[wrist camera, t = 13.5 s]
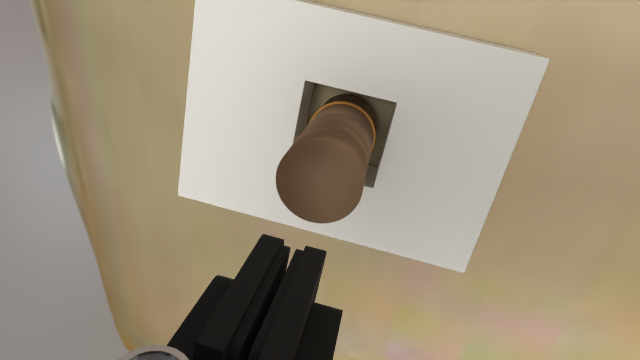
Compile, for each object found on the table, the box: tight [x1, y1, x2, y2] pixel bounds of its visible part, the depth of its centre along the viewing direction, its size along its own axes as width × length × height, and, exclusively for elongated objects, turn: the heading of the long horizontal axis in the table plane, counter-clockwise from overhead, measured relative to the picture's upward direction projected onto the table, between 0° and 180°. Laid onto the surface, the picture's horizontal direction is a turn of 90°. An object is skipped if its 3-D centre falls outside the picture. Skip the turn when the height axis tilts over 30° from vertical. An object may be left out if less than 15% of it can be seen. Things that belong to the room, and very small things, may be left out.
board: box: [178, 0, 550, 273], centre depth 29 cm, size 20×14×4 cm
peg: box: [276, 94, 377, 224], centre depth 26 cm, size 4×4×12 cm
